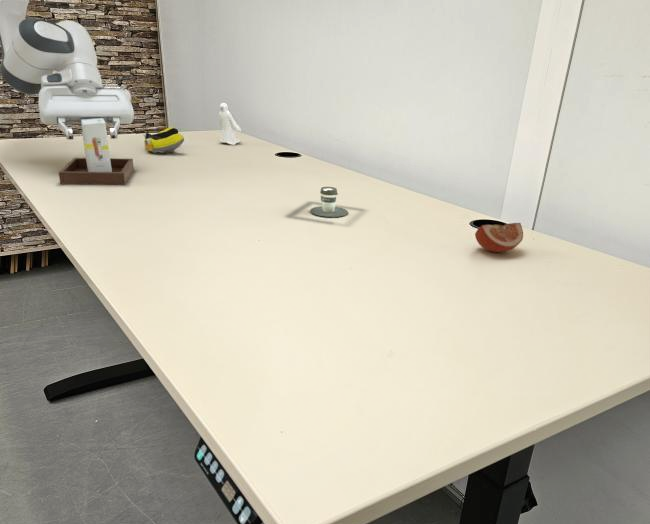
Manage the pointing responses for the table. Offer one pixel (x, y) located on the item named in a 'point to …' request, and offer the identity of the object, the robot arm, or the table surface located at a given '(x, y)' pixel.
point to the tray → (96, 173)
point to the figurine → (228, 126)
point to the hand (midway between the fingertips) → (92, 137)
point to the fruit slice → (499, 236)
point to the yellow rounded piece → (163, 140)
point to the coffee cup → (328, 204)
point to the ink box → (96, 145)
